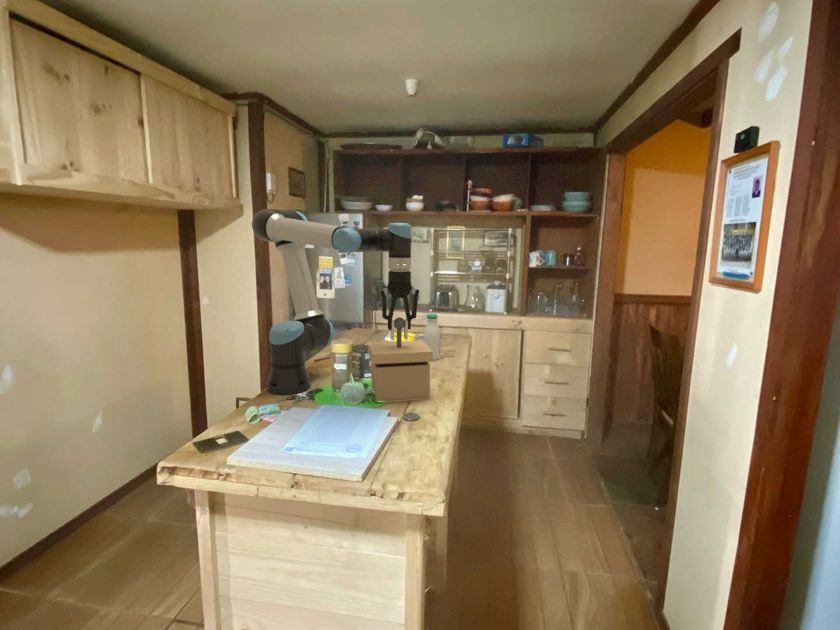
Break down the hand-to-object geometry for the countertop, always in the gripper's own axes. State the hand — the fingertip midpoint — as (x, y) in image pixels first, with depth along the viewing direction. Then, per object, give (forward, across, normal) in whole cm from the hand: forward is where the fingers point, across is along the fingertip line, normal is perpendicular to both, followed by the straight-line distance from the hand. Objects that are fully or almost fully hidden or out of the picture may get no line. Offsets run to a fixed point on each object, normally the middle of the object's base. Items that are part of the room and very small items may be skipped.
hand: (399, 338), depth 152 cm
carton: (+20, 0, 0) cm, 20 cm away
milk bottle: (+20, +22, +42) cm, 51 cm away
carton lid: (+6, 0, 0) cm, 6 cm away
